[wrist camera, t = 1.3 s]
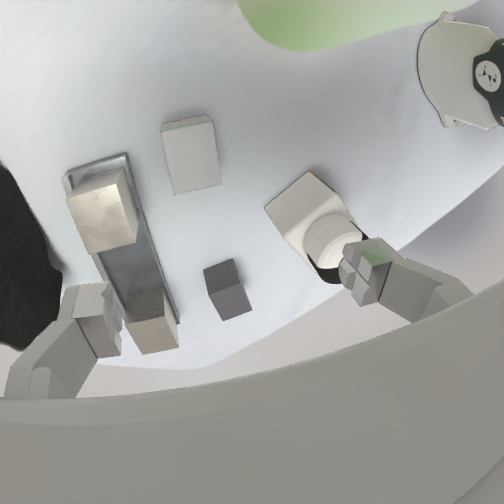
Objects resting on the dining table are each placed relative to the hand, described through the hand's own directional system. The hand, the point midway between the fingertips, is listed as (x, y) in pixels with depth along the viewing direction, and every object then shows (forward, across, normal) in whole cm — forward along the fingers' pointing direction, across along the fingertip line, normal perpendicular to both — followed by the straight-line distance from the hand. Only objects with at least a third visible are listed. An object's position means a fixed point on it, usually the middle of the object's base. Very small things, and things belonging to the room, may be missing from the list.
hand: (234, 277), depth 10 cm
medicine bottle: (+23, -14, +10) cm, 28 cm away
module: (+23, -1, +1) cm, 23 cm away
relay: (+23, -4, +19) cm, 30 cm away
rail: (+23, +8, +13) cm, 28 cm away
